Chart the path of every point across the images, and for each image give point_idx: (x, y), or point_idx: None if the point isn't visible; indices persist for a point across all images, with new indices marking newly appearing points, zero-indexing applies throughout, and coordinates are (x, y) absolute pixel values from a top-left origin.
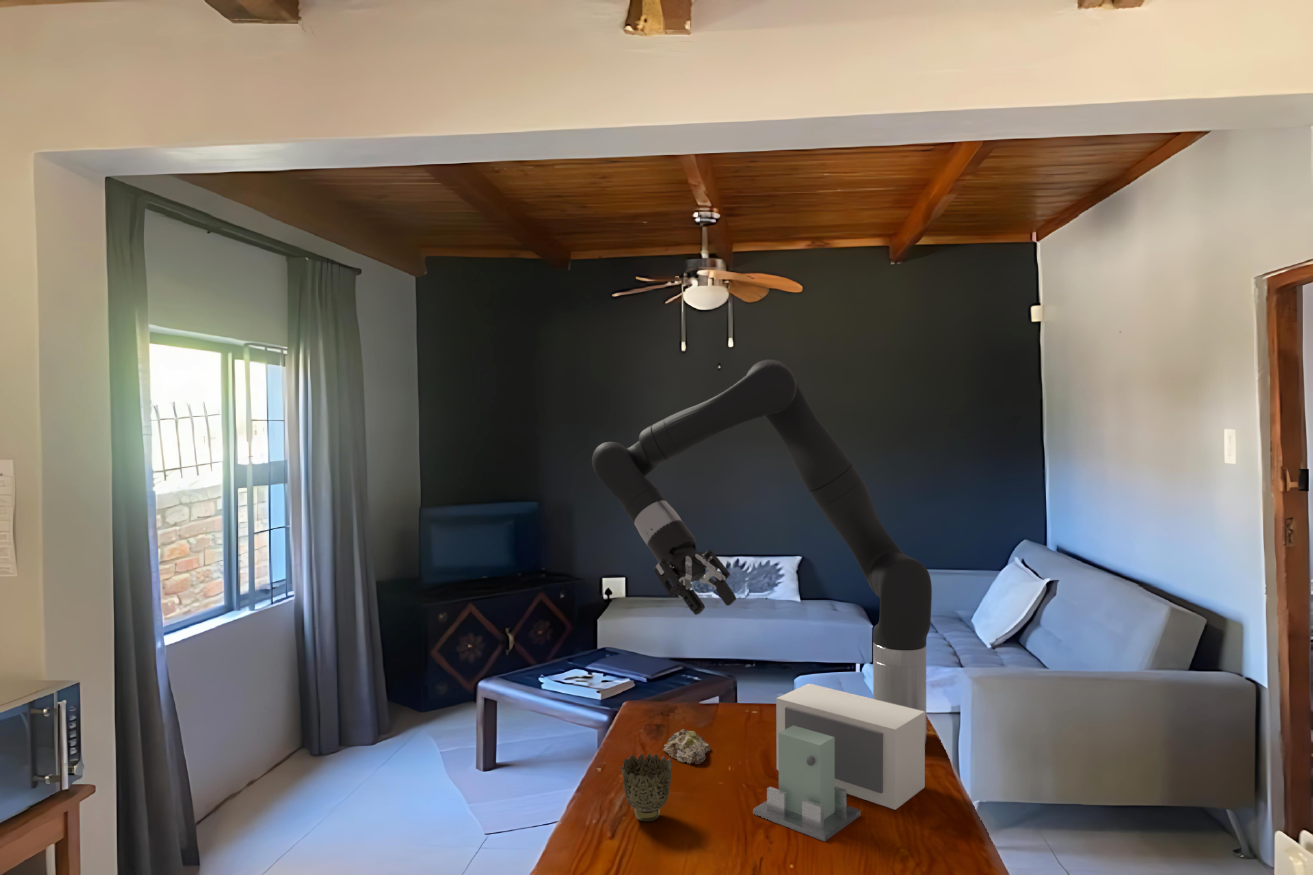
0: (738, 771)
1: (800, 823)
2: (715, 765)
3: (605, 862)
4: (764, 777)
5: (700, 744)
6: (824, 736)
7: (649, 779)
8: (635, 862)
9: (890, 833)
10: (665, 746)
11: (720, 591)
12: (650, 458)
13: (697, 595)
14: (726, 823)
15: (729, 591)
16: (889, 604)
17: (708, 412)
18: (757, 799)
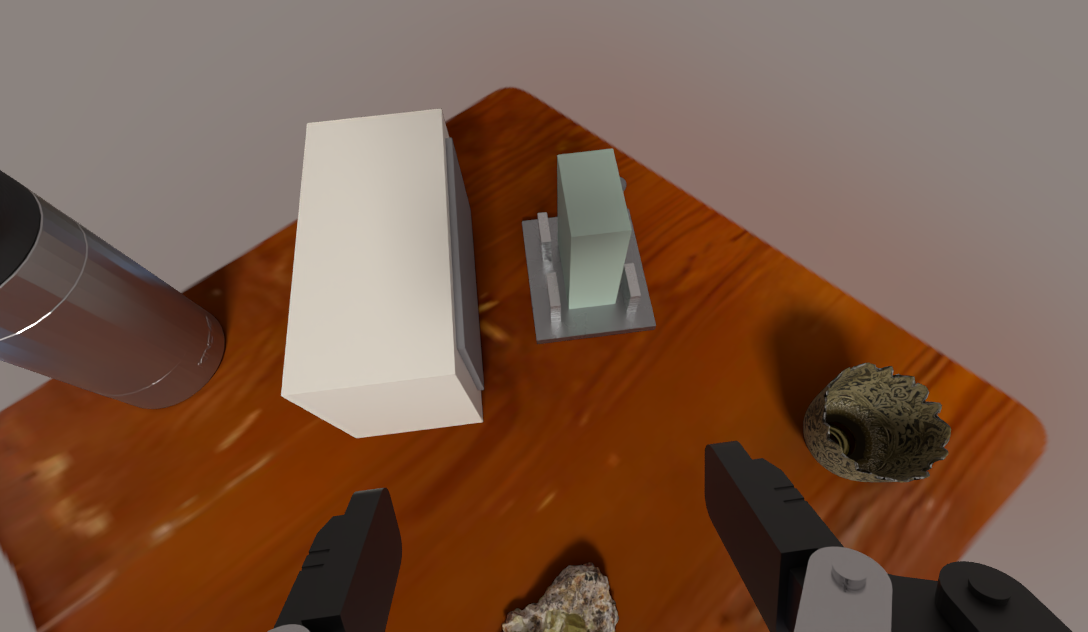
0: (545, 473)
1: (628, 249)
2: (561, 533)
3: (961, 371)
4: (527, 416)
5: (554, 601)
6: (569, 167)
7: (900, 376)
8: (914, 341)
9: (535, 176)
10: None
11: (372, 625)
12: None
13: (748, 503)
14: (713, 337)
15: (366, 526)
16: None
17: None
18: (607, 362)
